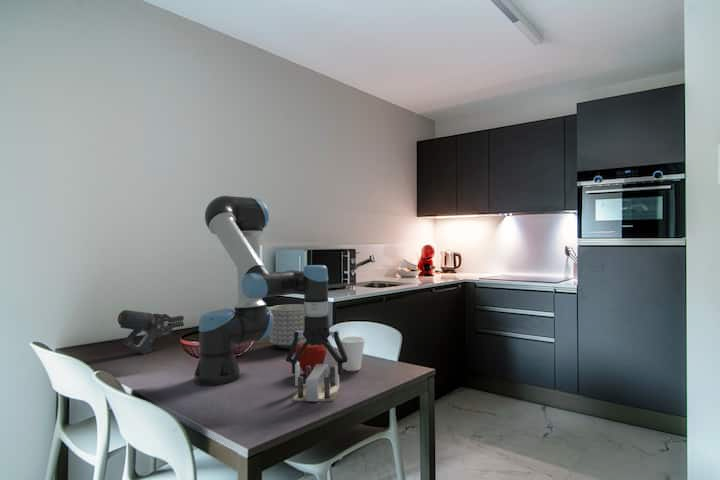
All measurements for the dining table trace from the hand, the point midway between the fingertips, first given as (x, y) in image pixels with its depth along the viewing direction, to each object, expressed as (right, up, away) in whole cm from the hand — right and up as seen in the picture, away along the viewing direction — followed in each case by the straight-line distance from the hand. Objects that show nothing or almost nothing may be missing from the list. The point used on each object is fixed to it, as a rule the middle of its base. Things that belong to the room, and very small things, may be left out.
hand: (317, 384), depth 128 cm
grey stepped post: (0, -2, -1) cm, 2 cm away
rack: (0, -3, 0) cm, 3 cm away
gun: (-79, -5, +55) cm, 97 cm away
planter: (-18, -4, +60) cm, 63 cm away
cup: (+10, -3, +25) cm, 27 cm away
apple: (-4, -3, +19) cm, 20 cm away
